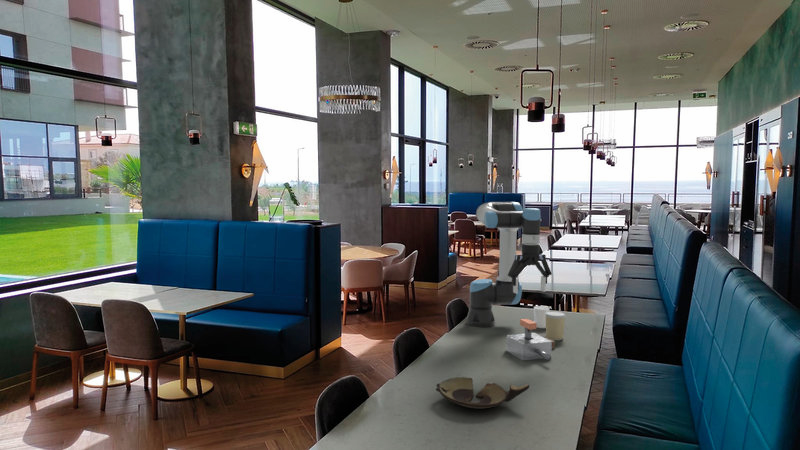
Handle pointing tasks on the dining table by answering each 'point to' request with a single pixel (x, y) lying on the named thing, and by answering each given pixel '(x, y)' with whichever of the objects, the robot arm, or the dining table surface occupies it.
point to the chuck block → (529, 346)
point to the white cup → (540, 316)
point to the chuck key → (528, 327)
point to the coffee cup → (555, 325)
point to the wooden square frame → (552, 342)
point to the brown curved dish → (463, 393)
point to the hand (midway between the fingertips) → (529, 292)
